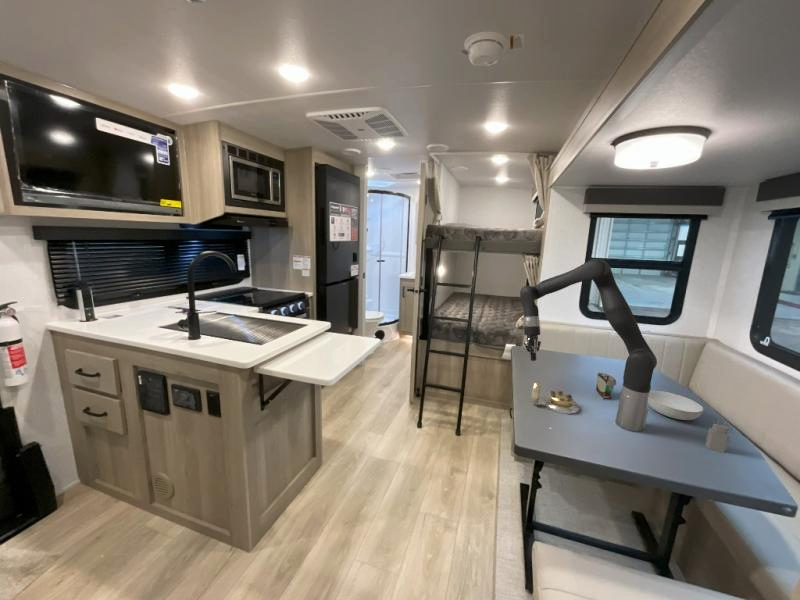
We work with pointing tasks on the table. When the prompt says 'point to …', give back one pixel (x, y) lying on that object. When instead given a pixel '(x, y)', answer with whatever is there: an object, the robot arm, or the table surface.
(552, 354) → the table surface
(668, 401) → the serving bowl
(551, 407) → the plate
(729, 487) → the table surface
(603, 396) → the food container
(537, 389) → the crank handle
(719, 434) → the power adapter
